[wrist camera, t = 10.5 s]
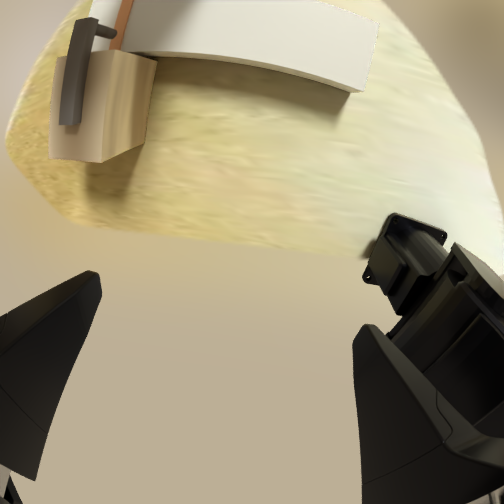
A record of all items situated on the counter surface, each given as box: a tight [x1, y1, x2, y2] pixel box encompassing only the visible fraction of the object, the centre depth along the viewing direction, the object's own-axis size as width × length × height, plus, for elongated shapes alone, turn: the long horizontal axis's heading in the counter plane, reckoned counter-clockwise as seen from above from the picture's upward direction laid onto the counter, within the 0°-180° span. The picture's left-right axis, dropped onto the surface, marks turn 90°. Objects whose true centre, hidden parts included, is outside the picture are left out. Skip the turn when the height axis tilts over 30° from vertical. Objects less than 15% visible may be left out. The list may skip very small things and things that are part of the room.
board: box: [88, 0, 380, 93], centre depth 12 cm, size 18×5×3 cm, turn 78°
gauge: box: [49, 17, 158, 163], centre depth 12 cm, size 4×8×7 cm, turn 168°
